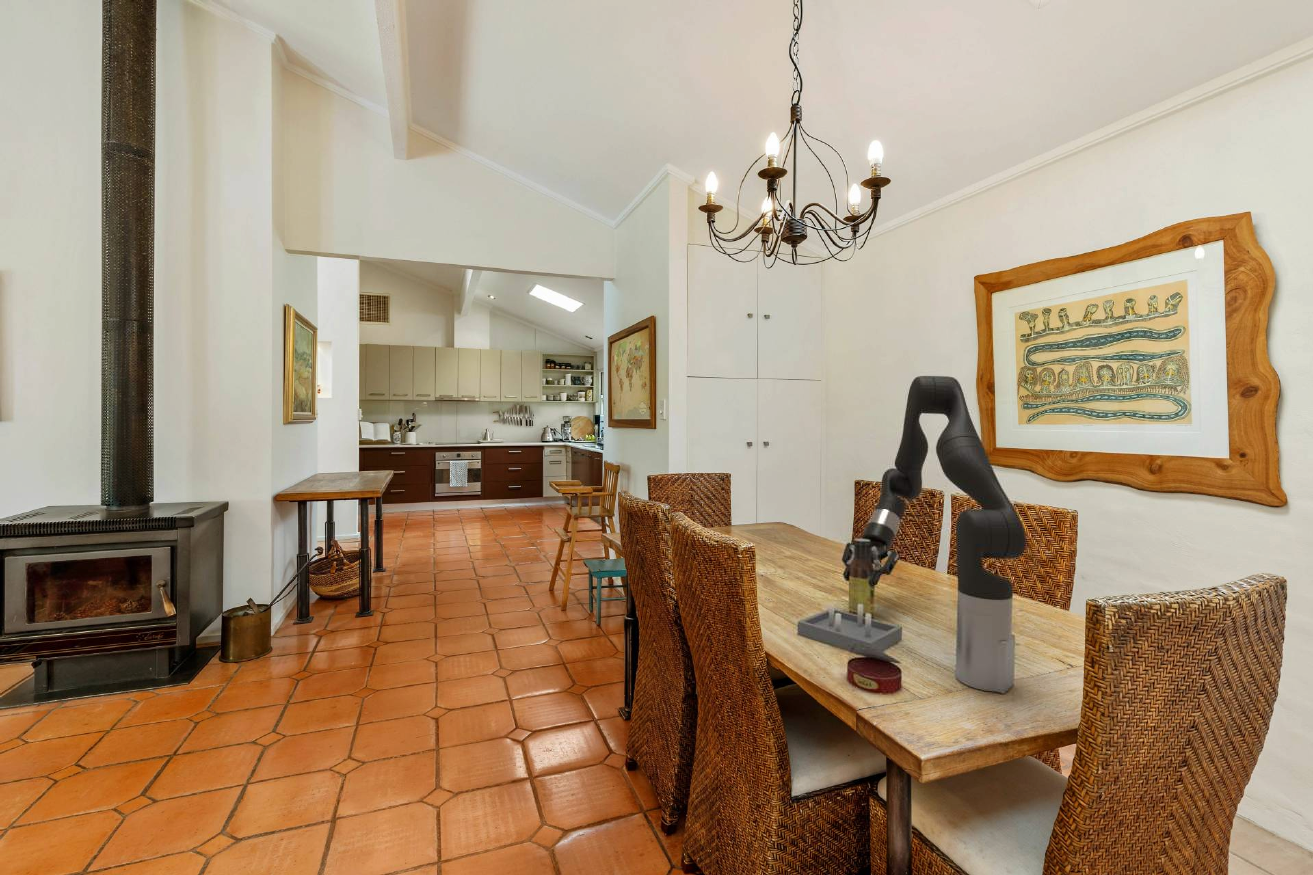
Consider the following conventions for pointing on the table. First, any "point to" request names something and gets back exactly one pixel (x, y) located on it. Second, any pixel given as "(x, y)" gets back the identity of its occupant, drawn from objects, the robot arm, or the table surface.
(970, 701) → the table surface
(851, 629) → the pin tray
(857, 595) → the sauce bottle
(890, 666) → the canned food
